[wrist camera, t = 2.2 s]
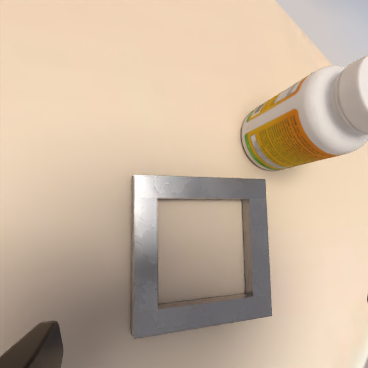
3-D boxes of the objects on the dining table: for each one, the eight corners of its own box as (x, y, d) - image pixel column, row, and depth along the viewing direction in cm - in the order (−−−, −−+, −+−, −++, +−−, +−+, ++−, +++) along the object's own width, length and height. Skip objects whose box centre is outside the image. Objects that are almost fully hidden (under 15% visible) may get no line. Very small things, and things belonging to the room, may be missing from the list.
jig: (263, 311, 21) (271, 315, 20) (131, 332, 18) (133, 338, 17) (257, 180, 22) (265, 179, 21) (132, 176, 19) (134, 174, 18)
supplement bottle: (291, 177, 23) (422, 153, 14) (235, 163, 22) (345, 125, 13) (296, 118, 24) (423, 59, 15) (243, 99, 23) (351, 21, 14)
